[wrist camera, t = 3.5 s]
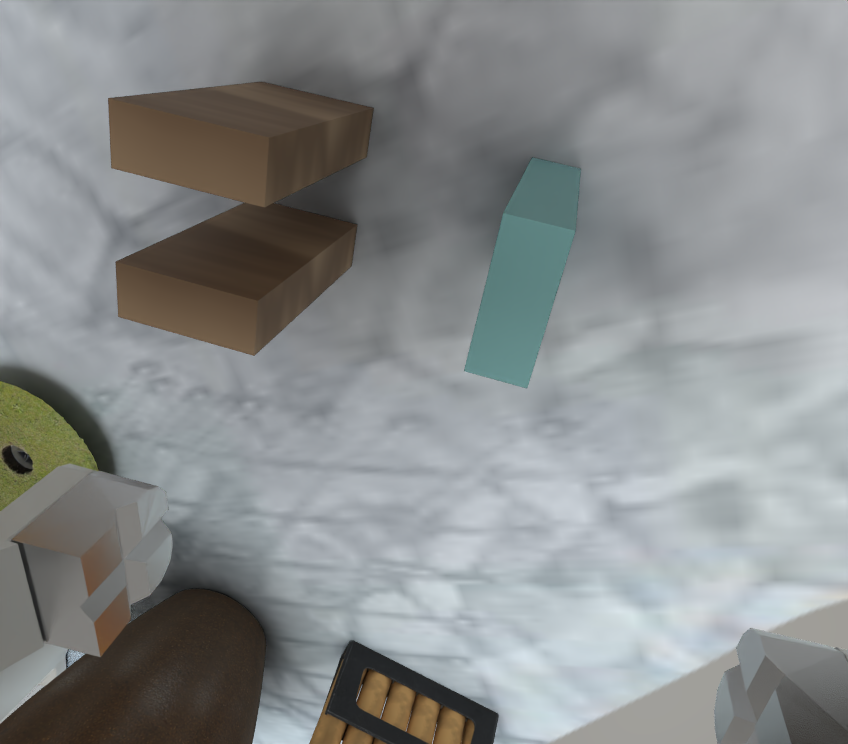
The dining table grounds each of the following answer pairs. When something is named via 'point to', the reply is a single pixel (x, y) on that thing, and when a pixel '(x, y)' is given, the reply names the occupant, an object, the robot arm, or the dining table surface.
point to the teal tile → (525, 273)
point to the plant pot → (157, 682)
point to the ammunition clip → (396, 706)
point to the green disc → (33, 443)
